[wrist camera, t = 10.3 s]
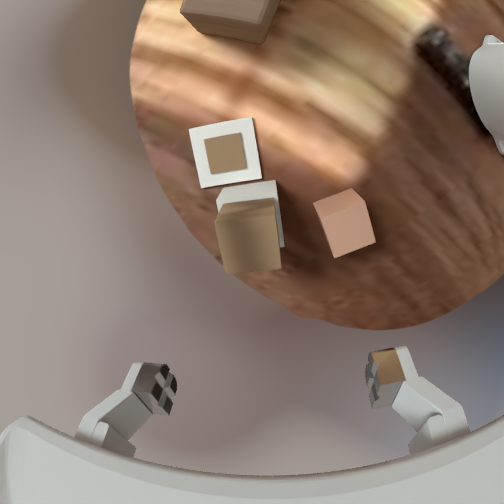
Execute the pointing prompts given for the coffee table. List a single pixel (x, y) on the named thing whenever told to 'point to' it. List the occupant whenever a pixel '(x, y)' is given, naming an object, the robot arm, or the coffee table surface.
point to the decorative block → (231, 17)
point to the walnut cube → (248, 236)
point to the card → (226, 152)
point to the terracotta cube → (345, 222)
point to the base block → (253, 198)
